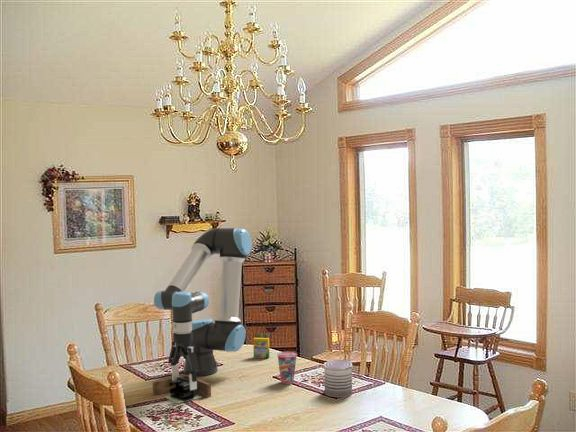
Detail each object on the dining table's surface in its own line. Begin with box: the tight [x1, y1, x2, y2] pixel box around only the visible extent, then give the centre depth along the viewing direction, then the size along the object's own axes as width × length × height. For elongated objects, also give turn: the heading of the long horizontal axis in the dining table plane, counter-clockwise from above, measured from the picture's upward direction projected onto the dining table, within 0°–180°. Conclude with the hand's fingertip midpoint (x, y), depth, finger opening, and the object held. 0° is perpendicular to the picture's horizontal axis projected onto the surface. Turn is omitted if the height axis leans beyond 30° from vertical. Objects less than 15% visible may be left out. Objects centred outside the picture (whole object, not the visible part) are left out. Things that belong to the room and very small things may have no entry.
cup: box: [277, 351, 298, 385], centre depth 270 cm, size 9×8×12 cm
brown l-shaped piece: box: [152, 374, 212, 398], centre depth 254 cm, size 16×18×5 cm
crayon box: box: [253, 333, 270, 360], centre depth 311 cm, size 7×3×12 cm, turn 80°
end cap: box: [169, 377, 199, 402], centre depth 252 cm, size 10×7×7 cm
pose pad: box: [165, 394, 202, 404], centre depth 252 cm, size 11×9×1 cm
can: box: [323, 359, 353, 398], centre depth 255 cm, size 11×11×12 cm
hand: (184, 385), depth 252 cm, fingers open, 13 cm apart
